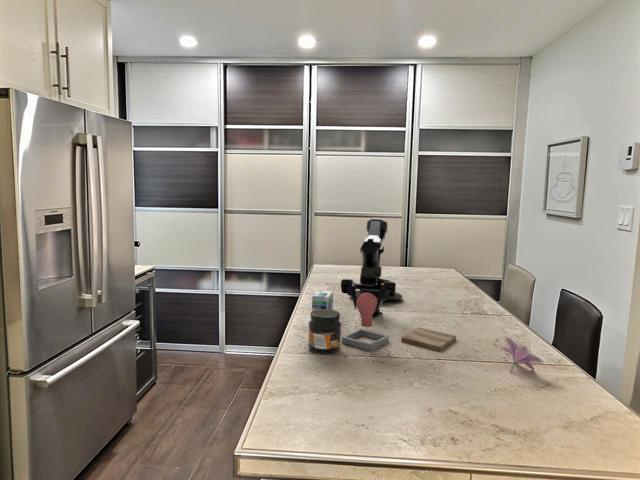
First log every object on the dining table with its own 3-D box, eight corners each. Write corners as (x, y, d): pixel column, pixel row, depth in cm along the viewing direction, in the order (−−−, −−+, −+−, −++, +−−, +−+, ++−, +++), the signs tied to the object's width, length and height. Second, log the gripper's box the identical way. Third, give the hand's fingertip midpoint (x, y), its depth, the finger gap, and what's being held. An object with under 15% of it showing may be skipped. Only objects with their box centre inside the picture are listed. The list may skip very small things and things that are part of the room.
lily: (545, 384, 125) (553, 352, 127) (509, 369, 123) (518, 336, 126) (518, 379, 136) (525, 349, 138) (485, 365, 135) (493, 335, 137)
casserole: (348, 302, 202) (348, 284, 200) (350, 292, 220) (350, 276, 219) (403, 305, 199) (404, 287, 198) (401, 295, 217) (401, 278, 216)
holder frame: (359, 333, 159) (360, 328, 159) (388, 341, 152) (388, 335, 152) (341, 342, 150) (341, 336, 150) (371, 351, 143) (371, 345, 143)
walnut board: (418, 331, 164) (418, 327, 164) (455, 340, 156) (455, 335, 155) (401, 341, 153) (401, 337, 153) (439, 351, 145) (440, 346, 144)
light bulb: (353, 323, 154) (355, 290, 152) (374, 323, 155) (375, 290, 153) (357, 330, 147) (358, 295, 145) (378, 330, 148) (379, 295, 146)
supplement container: (317, 356, 137) (318, 319, 136) (302, 345, 147) (303, 310, 145) (346, 351, 142) (347, 315, 141) (330, 341, 152) (331, 307, 150)
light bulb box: (328, 324, 169) (329, 297, 168) (311, 323, 170) (311, 295, 169) (333, 316, 179) (333, 290, 178) (316, 315, 181) (317, 289, 179)
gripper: (342, 256, 153) (336, 295, 144) (397, 259, 150) (394, 299, 141) (344, 273, 162) (339, 311, 153) (396, 276, 159) (394, 315, 149)
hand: (366, 309), depth 149 cm, fingers closed on light bulb, 7 cm apart
